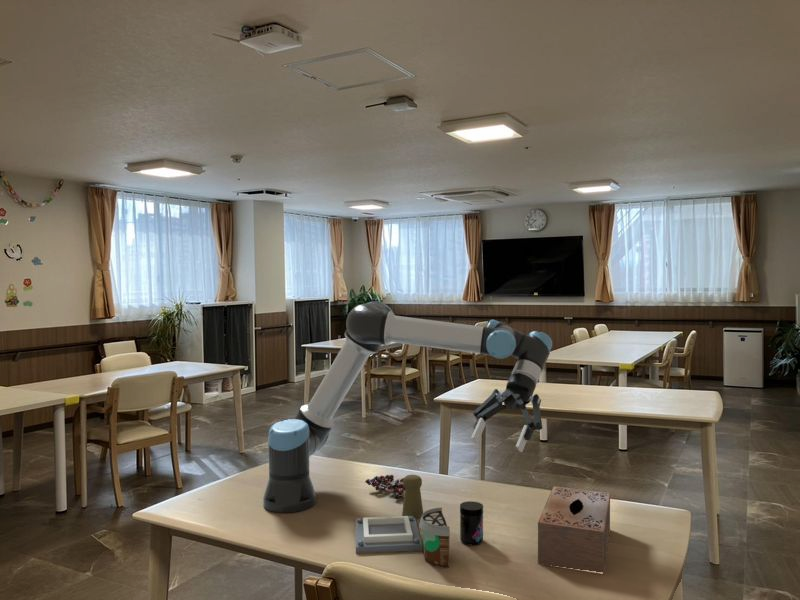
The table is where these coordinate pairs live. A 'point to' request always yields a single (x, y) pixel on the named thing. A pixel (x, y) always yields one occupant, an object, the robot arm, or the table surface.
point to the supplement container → (471, 523)
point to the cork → (412, 497)
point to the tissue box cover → (574, 529)
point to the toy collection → (388, 484)
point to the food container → (435, 538)
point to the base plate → (387, 534)
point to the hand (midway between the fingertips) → (495, 445)
